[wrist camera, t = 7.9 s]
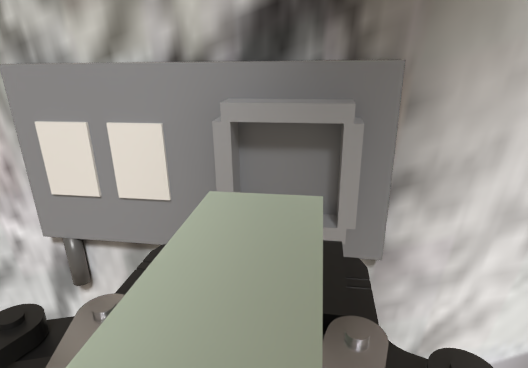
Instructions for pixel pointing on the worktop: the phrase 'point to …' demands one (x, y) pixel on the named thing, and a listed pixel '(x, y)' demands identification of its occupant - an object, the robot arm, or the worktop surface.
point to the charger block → (224, 291)
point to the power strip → (204, 144)
